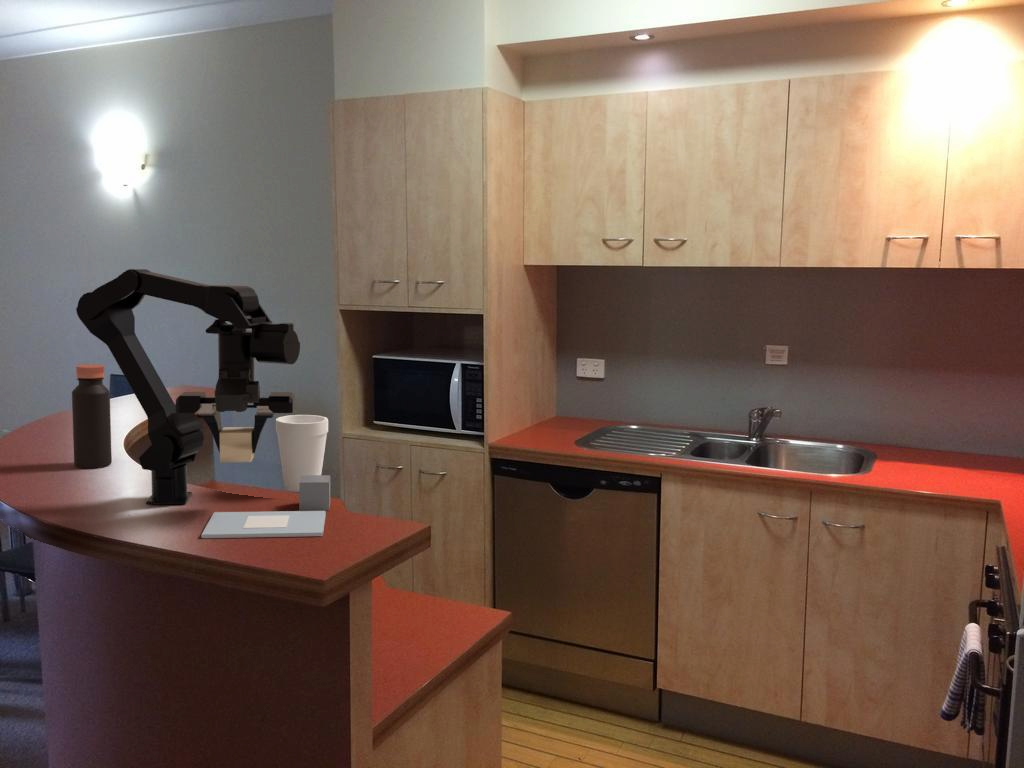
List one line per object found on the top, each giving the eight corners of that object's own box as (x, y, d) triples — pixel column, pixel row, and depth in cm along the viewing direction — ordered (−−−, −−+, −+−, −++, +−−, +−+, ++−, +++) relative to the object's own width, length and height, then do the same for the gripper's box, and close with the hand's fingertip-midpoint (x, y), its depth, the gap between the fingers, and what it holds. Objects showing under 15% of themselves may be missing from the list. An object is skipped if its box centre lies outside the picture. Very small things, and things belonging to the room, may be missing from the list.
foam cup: (337, 488, 166) (338, 420, 164) (295, 496, 159) (296, 425, 157) (307, 478, 172) (307, 413, 170) (266, 486, 165) (266, 418, 163)
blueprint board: (214, 515, 146) (214, 511, 146) (325, 514, 149) (325, 510, 149) (201, 538, 134) (201, 533, 134) (322, 536, 137) (322, 531, 137)
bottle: (97, 470, 173) (94, 368, 170) (66, 467, 174) (62, 366, 172) (118, 462, 180) (116, 365, 177) (89, 460, 181) (86, 363, 178)
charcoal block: (301, 503, 155) (301, 475, 155) (330, 502, 156) (330, 475, 156) (299, 511, 151) (299, 482, 150) (329, 510, 151) (329, 482, 151)
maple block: (224, 455, 152) (224, 427, 151) (254, 455, 153) (254, 427, 152) (220, 462, 147) (219, 432, 146) (251, 462, 148) (250, 432, 147)
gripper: (167, 366, 138) (169, 464, 140) (290, 367, 141) (290, 463, 144) (181, 358, 149) (183, 449, 151) (295, 359, 152) (295, 448, 154)
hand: (237, 452), depth 150 cm, fingers closed on maple block, 5 cm apart
